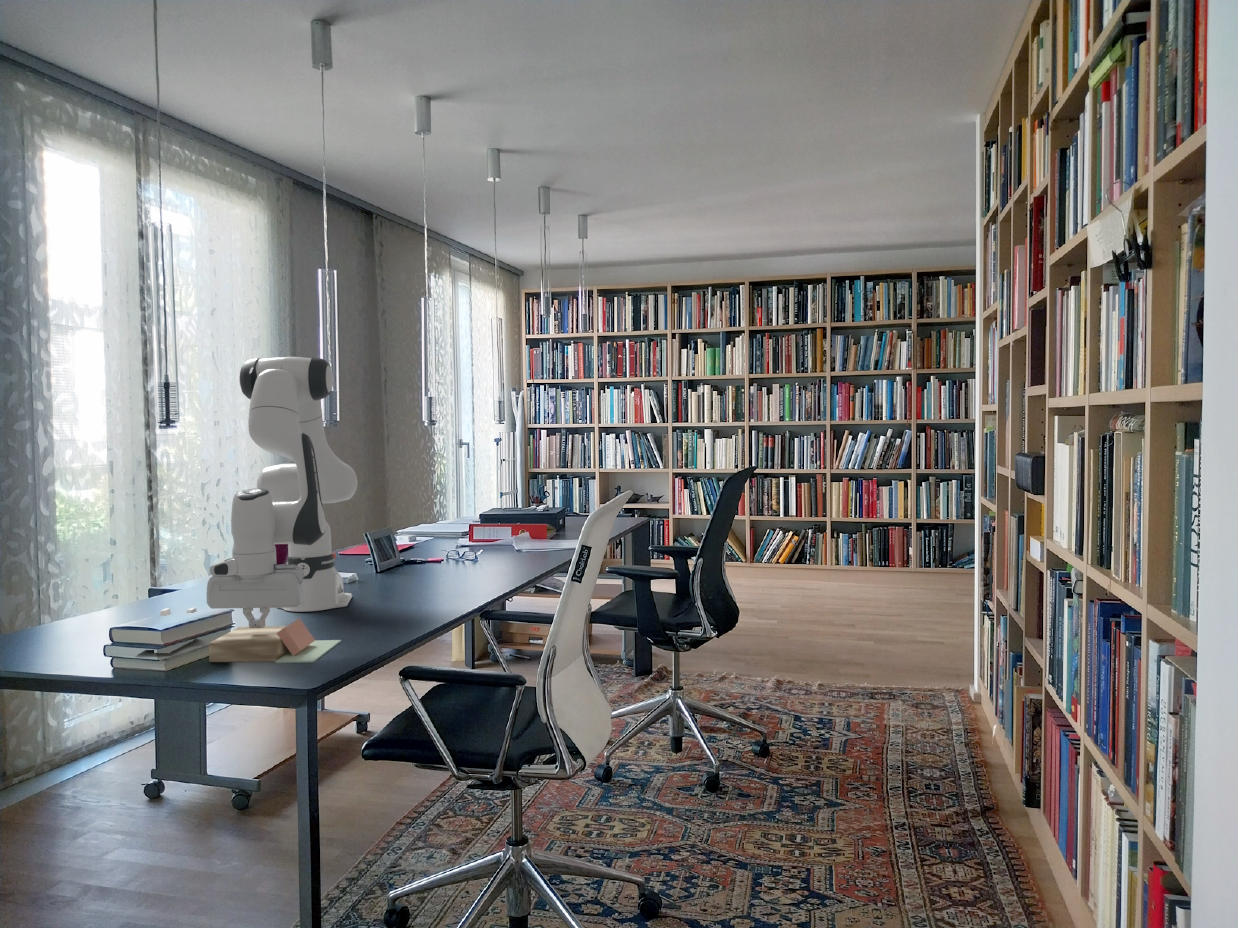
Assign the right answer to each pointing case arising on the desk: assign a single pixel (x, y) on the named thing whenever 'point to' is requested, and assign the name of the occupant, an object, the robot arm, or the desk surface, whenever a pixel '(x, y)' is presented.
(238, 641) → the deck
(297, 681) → the desk surface
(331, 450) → the robot arm
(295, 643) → the terracotta brick
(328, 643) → the mat
